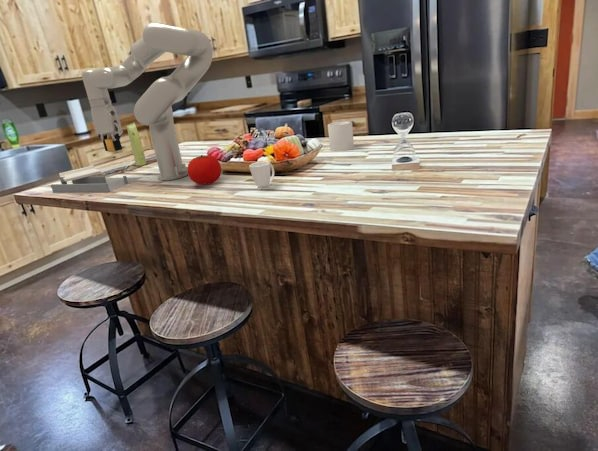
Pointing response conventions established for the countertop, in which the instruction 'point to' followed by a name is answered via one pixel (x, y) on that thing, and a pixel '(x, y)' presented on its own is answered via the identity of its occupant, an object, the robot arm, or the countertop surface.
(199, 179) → the tomato
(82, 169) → the cover
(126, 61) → the robot arm
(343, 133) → the mug
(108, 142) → the orange cube
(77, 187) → the grey tray
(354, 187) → the countertop surface
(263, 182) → the cup
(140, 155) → the tube
